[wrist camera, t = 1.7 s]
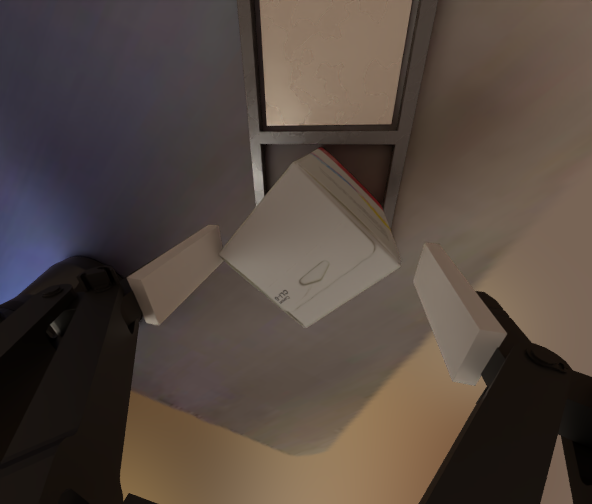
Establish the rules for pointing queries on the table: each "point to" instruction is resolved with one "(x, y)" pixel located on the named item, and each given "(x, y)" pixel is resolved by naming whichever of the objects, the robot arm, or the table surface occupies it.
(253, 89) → the grey flat rectangular frame
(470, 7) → the table surface
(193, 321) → the table surface
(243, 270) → the ink box
